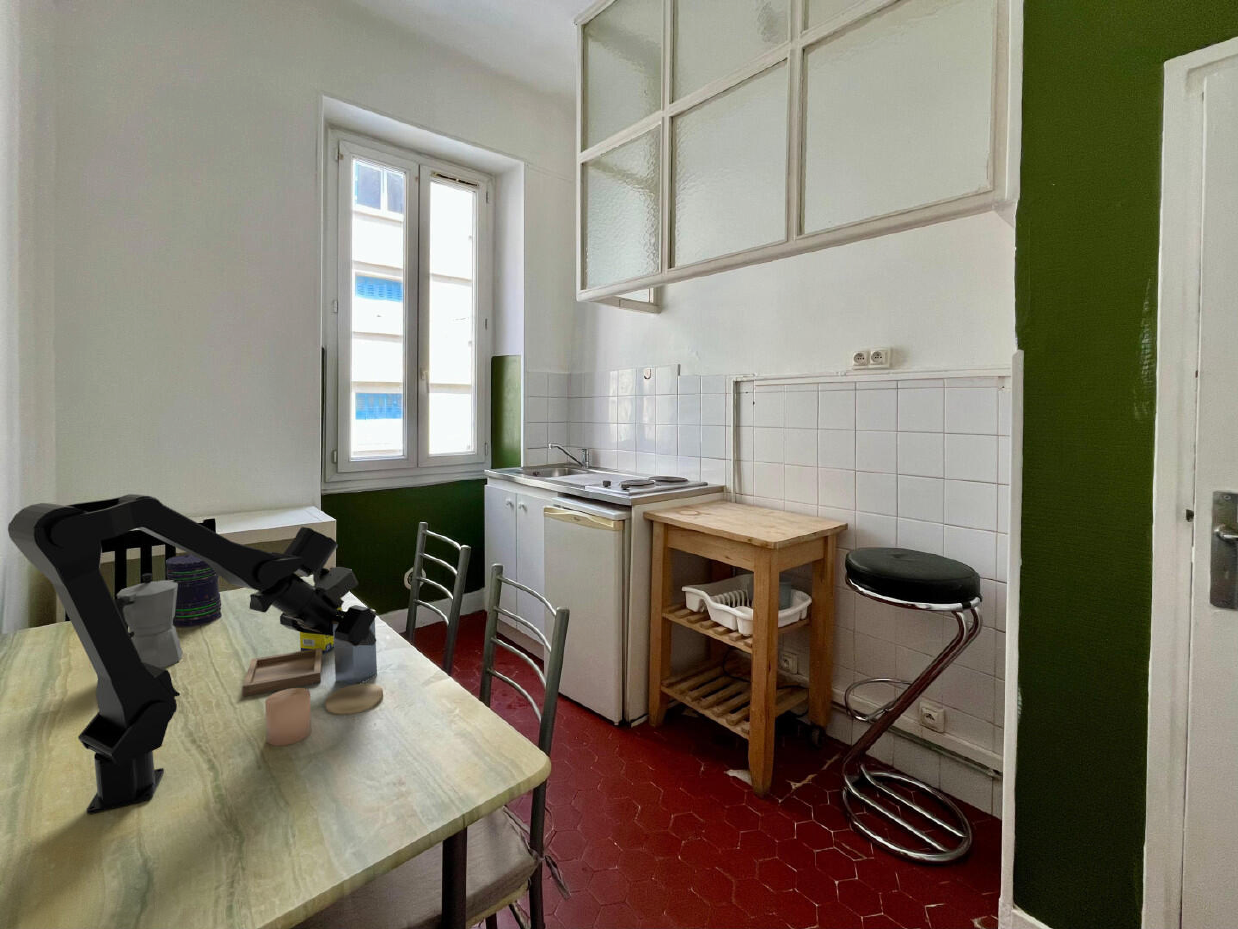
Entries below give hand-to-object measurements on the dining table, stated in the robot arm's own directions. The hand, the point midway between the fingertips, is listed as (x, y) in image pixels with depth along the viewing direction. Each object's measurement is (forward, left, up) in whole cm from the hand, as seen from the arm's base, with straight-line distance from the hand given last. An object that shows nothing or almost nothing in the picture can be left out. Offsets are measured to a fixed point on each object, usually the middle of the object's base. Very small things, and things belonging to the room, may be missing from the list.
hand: (356, 638), depth 107 cm
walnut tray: (+7, +12, -7) cm, 16 cm away
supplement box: (+18, +6, -8) cm, 20 cm away
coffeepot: (+23, +36, -8) cm, 44 cm away
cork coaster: (-9, +1, -7) cm, 12 cm away
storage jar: (+48, +33, -8) cm, 59 cm away
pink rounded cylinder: (-16, +10, -7) cm, 21 cm away
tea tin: (0, 0, -7) cm, 8 cm away
